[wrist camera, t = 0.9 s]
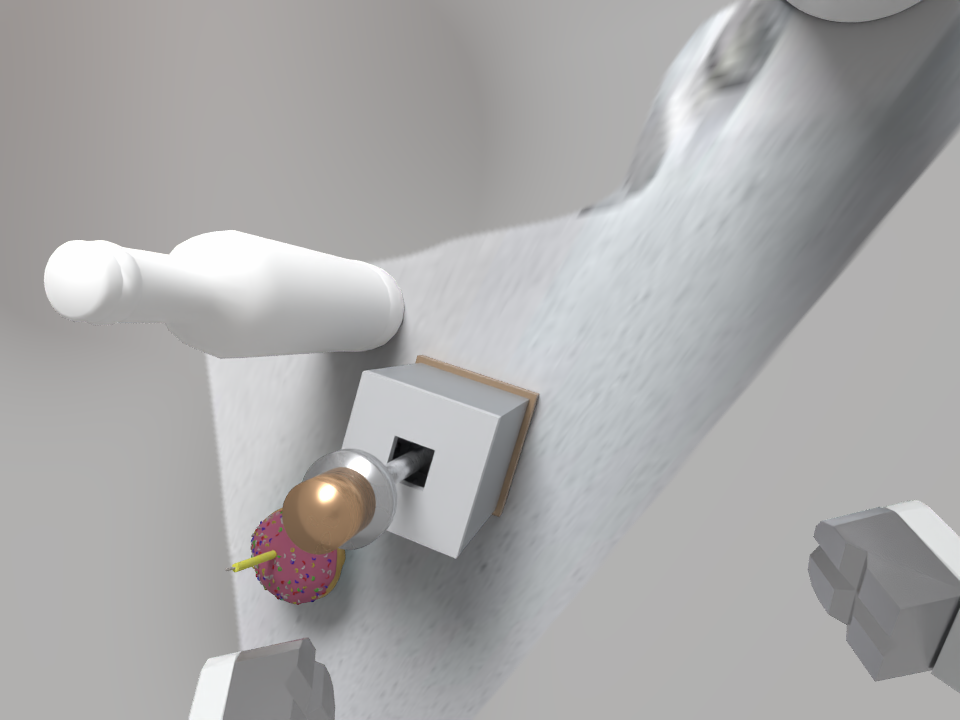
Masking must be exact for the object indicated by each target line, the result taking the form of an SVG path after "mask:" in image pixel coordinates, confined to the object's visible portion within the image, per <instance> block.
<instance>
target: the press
mask: <svg viewBox="0 0 960 720" xmlns="http://www.w3.org/2000/svg"><path fill="white" fill-rule="evenodd" d="M538 396H539V394H538V393H535V392H532V391H529V390H526V389H523V388H520V387H517V386H514V385H511V384H508V383H505V382H502V381H499V380H496V379H493V378H490V377H487V376H484V375H481V374H478V373H475V372H472V371H469V370H466V369H463V368H460V367H457V366H454V365H451V364H448V363H445V362H442V361H439V360H436V359H433V358H429V357H426V356H423V355H418V356H417V359H416V363H415V364H409V365H402V366H395V367H388V368H380V369H373V370H366V371H363V372H362V376H361V379H360V383H359V387H358V390H357V394H356V398H355V401H354V405H353V409H352V412H351V416H350V420H349V423H348V427H347V431H346V434H345V438H344V441H343V445H342V449H359V450H362V451H366V452H368V453H370V454H372V455H373V456H375V457H376V458H378V459H379V460H380V461H381V462H382V463H383V464H384V465H385V464H387V463H389V462H391V461H392V458H393V454H394V451H395V447H396V444H397V440H398V437H400V438H403V439H405V440H408V441H411V442H414V443H416V444H419V445H422V446H425V447H427V448H430V449H433V450H435V452H434V456H433V459H432V463H431V466H430V469H429V473H428V476H427V480H426V483H425V487H424V488H423V487H420V486H418V485H415V484H412V483H410V482H407V481H405V480H402V481H400V482H398V483H397V484H395V486H396V490H397V509H396V513H395V516H394V519H393V521H392V523H391V525H390V526H389V527H388V529H387V531H389V532H391V533H394V534H396V535H399V536H401V537H404V538H406V539H409V540H411V541H414V542H416V543H418V544H421V545H423V546H426V547H428V548H431V549H433V550H436V551H438V552H441V553H443V554H446V555H448V556H450V557H453V558H455V559H456V558H457V557H458V556H459V555H460V553H461V552H462V551H463V550H464V548H465V547H466V546H467V545H468V543H469V542H470V541H471V539H472V538H473V537H474V536H475V534H476V533H477V532H478V531H479V529H480V528H481V527H482V526H483V524H484V523H485V522H486V521H487V519H488V518H489V517H490V516H491V514H493V515H495V516H498V517H500V515H501V514H502V512H503V509H504V505H505V502H506V499H507V496H508V492H509V489H510V486H511V483H512V480H513V476H514V473H515V470H516V467H517V463H518V460H519V457H520V454H521V451H522V447H523V444H524V441H525V438H526V434H527V431H528V428H529V425H530V422H531V418H532V415H533V412H534V409H535V405H536V402H537V399H538ZM342 449H341V450H342Z"/></svg>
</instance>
